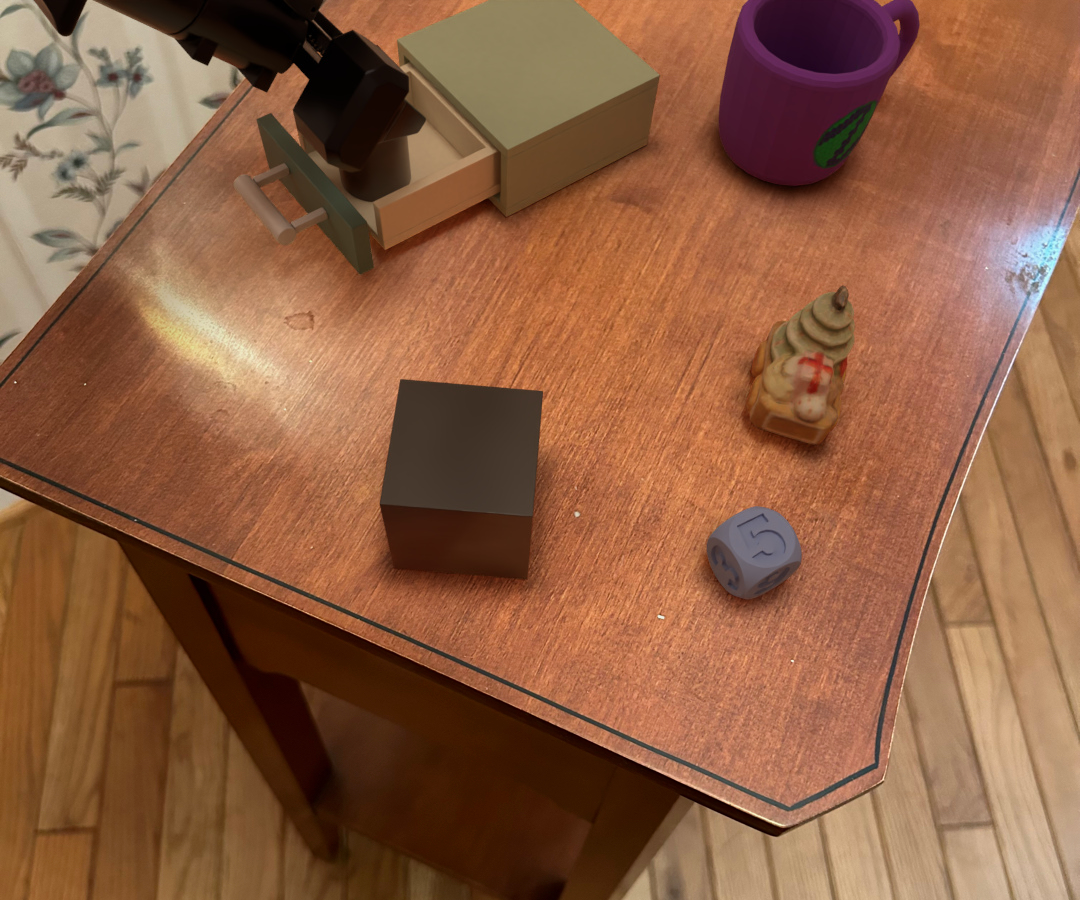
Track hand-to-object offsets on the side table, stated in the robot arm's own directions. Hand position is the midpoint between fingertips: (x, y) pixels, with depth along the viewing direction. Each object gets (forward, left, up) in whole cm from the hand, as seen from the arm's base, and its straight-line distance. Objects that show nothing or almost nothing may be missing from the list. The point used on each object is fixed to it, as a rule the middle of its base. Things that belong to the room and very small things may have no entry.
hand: (381, 84), depth 62 cm
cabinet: (+7, +10, -9) cm, 15 cm away
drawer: (-1, -2, -8) cm, 8 cm away
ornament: (+32, -8, -9) cm, 34 cm away
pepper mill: (-1, -1, -7) cm, 7 cm away
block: (+15, -23, -9) cm, 29 cm away
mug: (+28, +18, -9) cm, 34 cm away
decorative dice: (+32, -21, -9) cm, 39 cm away
